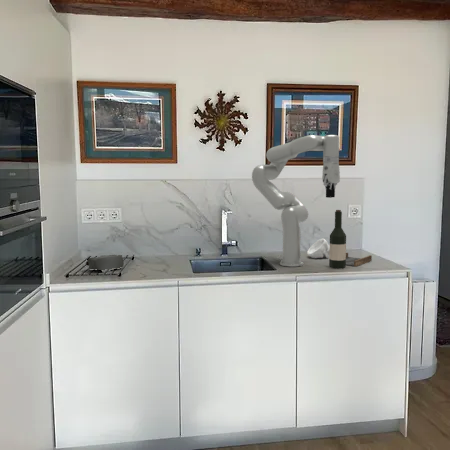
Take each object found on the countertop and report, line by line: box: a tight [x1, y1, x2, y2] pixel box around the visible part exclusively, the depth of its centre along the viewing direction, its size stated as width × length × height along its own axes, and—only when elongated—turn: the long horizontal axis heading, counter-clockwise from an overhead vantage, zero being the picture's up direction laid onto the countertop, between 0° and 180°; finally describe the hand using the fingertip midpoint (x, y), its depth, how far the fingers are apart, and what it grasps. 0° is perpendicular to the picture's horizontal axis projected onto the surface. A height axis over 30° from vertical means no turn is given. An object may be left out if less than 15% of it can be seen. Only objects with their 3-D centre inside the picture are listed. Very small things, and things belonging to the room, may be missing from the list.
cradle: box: [346, 252, 373, 268], centre depth 245 cm, size 15×20×3 cm
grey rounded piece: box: [85, 254, 125, 270], centre depth 233 cm, size 18×11×8 cm, turn 131°
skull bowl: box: [306, 237, 330, 259], centre depth 259 cm, size 10×14×12 cm
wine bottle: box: [328, 209, 347, 269], centre depth 232 cm, size 8×8×30 cm
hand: (330, 197), depth 222 cm, fingers closed
